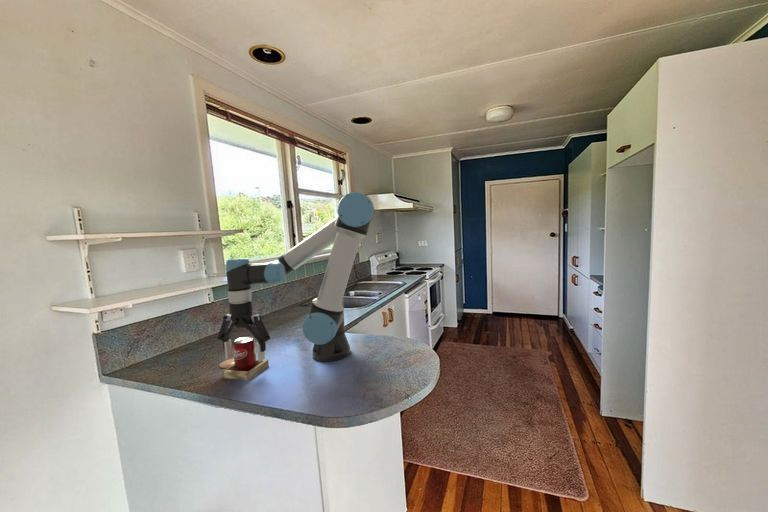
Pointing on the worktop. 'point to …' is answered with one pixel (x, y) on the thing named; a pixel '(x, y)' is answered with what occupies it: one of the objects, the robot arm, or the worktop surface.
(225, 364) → the coaster
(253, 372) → the frame
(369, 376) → the worktop surface
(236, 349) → the soda can
